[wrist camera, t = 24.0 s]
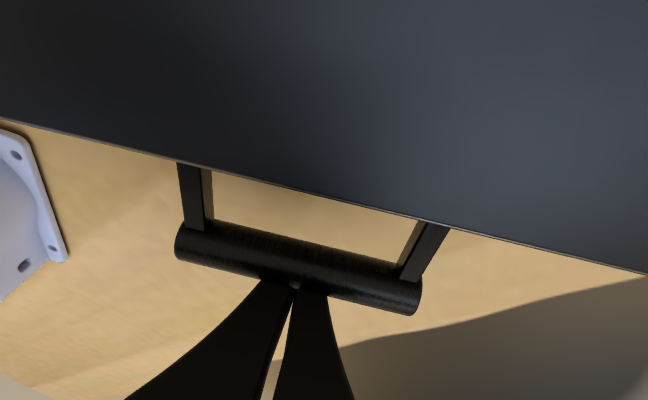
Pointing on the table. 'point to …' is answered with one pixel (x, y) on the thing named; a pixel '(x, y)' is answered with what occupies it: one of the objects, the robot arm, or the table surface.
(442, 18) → the black drawer unit
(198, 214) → the dish drawer
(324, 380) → the robot arm
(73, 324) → the table surface
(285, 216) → the table surface
